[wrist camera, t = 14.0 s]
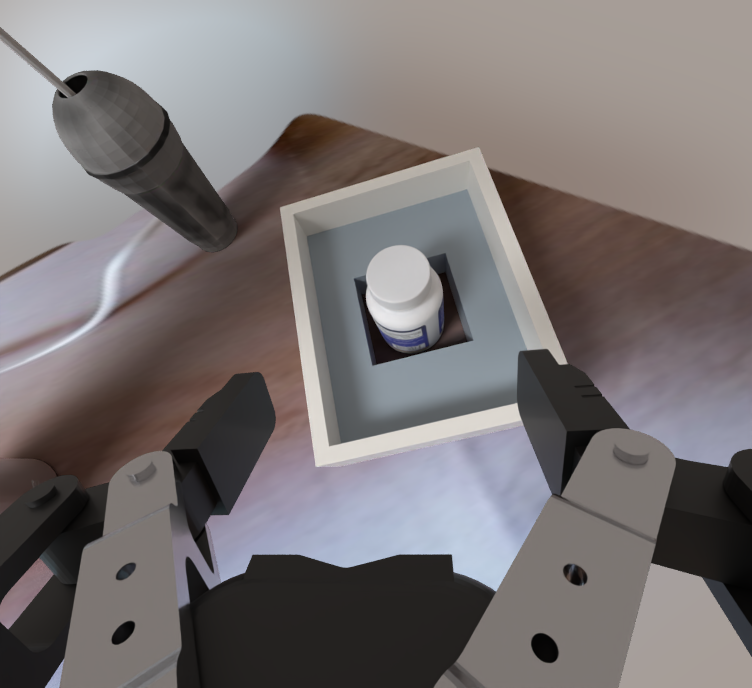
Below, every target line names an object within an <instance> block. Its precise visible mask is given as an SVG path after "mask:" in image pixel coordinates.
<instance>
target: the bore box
mask: <svg viewBox="0 0 752 688" xmlns="http://www.w3.org/2000/svg"><path fill="white" fill-rule="evenodd" d="M280 212H281V219H282V226H283V234H284V241H285V248H286V255H287V262H288V270H289V277H290V284H291V291H292V298H293V306H294V313H295V320H296V327H297V334H298V341H299V349H300V356H301V363H302V370H303V377H304V385H305V392H306V399H307V406H308V413H309V421H310V428H311V435H312V442H313V449H314V457H315V464H316V467H337V466H346V465H350V464H355V463H359V462H364V461H368V460H373V459H377V458H382V457H386V456H391V455H395V454H399V453H404V452H408V451H413V450H417V449H422V448H426V447H431V446H435V445H439V444H444V443H448V442H453V441H457V440H462V439H466V438H471V437H475V436H480V435H484V434H488V433H493V432H497V431H502V430H506V429H511V428H515V427H520V426H524V425H523V422H522V420H521V417H520V414H519V410H518V404H517V371H518V354H519V352H520V351H525V350H537V349H548V350H549V351H550V352H551V354H552V355H553V357H554V358H555V360H556V361H557V362H558V364H559V365H563V364H568V363H567V361H566V358H565V356H564V354H563V351H562V349H561V346H560V344H559V341H558V339H557V336H556V334H555V332H554V329H553V327H552V324H551V322H550V319H549V317H548V314H547V312H546V310H545V307H544V305H543V302H542V300H541V297H540V295H539V292H538V290H537V288H536V285H535V283H534V280H533V278H532V275H531V273H530V270H529V268H528V266H527V263H526V261H525V258H524V256H523V253H522V251H521V248H520V246H519V244H518V241H517V239H516V236H515V234H514V231H513V229H512V226H511V224H510V222H509V219H508V217H507V214H506V212H505V209H504V207H503V204H502V202H501V200H500V197H499V195H498V192H497V190H496V187H495V185H494V182H493V180H492V178H491V175H490V173H489V170H488V168H487V165H486V163H485V160H484V158H483V155H482V153H481V151H480V148H479V147H477V148H474V149H470V150H467V151H464V152H460V153H457V154H454V155H450V156H447V157H444V158H441V159H437V160H434V161H431V162H427V163H424V164H421V165H418V166H414V167H411V168H408V169H404V170H401V171H398V172H395V173H391V174H388V175H385V176H381V177H378V178H375V179H372V180H368V181H365V182H362V183H358V184H355V185H352V186H349V187H345V188H342V189H339V190H335V191H332V192H329V193H326V194H322V195H319V196H316V197H312V198H309V199H306V200H303V201H299V202H296V203H293V204H289V205H286V206H283V207H280ZM395 245H407V246H411V247H413V248H416V249H418V250H419V251H420V252H422V253H423V254H424V255H425V257H426V258H427V260H428V262H429V264H430V267H431V268H432V269H433V270H434V271H435V272H436V273H437V274H440V273H443V272H446V276H447V279H448V282H449V285H450V288H451V291H452V295H453V298H454V301H455V304H456V307H457V311H458V314H459V317H460V320H461V323H462V326H463V330H464V333H465V336H466V339H467V342H465V343H462V344H458V345H454V346H450V347H446V348H442V349H438V350H434V351H430V352H426V353H422V354H418V355H414V356H410V357H406V358H402V359H398V360H394V361H390V362H386V363H382V364H378V365H377V363H376V359H375V354H374V349H373V345H372V340H371V335H370V331H369V326H368V322H367V317H366V312H365V308H364V303H363V298H362V295H363V294H366V290H367V286H368V285H367V281H366V273H367V268H368V266H369V263H370V262H371V260H372V259H373V257H374V256H375V255H376V254H378V253H379V252H380V251H382V250H384V249H386V248H388V247H391V246H395Z"/></svg>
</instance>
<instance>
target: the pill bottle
mask: <svg viewBox="0 0 752 688" xmlns="http://www.w3.org/2000/svg"><path fill="white" fill-rule="evenodd" d="M366 281H367V285H368V286H367V290H366V302H367V306H368V309H369V311H370V314H371V316H372V317H373V319H374V321H375V323H376V325H377V327H378V329H379V330H380V332H381V334H382V336H383V338H384V339H385V341H386V342H387V343H388V344H389V345H390V346H391V347H392V348H393V349H395V350H397V351H399V352H403V353H409V354H414V353H420V352H423V351H425V350H427V349H429V348H430V347H432V346H433V345H434V344H435V343H436V342H437V341H438V340H439V338H440V336H441V334H442V332H443V328H444V303H443V289H442V284H441V281H440V278H439V276H438V275H437V273H436V272H435V271H434V270H433V269H432V268H431V267H430V264H429V262H428V260H427V258H426V257H425V255H424V254H423V253H422V252H420V251H419V250H418V249H416V248H413V247H411V246H407V245H395V246H391V247H388V248H386V249H384V250H382V251H380V252H379V253H378V254H376V255H375V256H374V257H373V259H372V260H371V262H370V263H369V266H368V268H367V273H366Z"/></svg>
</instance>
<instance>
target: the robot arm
mask: <svg viewBox="0 0 752 688" xmlns="http://www.w3.org/2000/svg"><path fill="white" fill-rule="evenodd" d="M517 404H518V410H519V414H520V417H521V420H522V422H523V425H524V427H525V429H526V432H527V434H528V437H529V439H530V442H531V444H532V446H533V449H534V451H535V454H536V456H537V459H538V461H539V463H540V466H541V468H542V471H543V473H544V476H545V478H546V481H547V483H548V485H549V488H550V490H551V493H552V495H551V497H550V498H549V499H548V501H547V503H546V504H545V506H544V508H543V510H542V511H541V513H540V515H539V517H538V519H537V520H536V522H535V524H534V526H533V527H532V529H531V531H530V533H529V535H528V536H527V538H526V540H525V542H524V544H523V545H522V547H521V549H520V551H519V552H518V554H517V556H516V558H515V560H514V561H513V563H512V565H511V567H510V568H509V570H508V572H507V574H506V576H505V577H504V579H503V581H502V583H501V584H500V586H499V588H498V590H497V592H496V591H494V590H493V589H491V588H490V587H488V586H486V585H484V584H482V583H481V582H479V581H477V580H474V579H472V578H469V577H467V576H464V575H461V574H458V573H454V572H453V563H452V555H396V556H392V557H388V558H385V559H381V560H377V561H373V562H369V563H365V564H361V565H357V566H354V567H349V568H343V567H338V566H335V565H332V564H328V563H325V562H322V561H318V560H315V559H311V558H308V557H305V556H301V555H252V558H251V560H250V563H249V565H248V567H247V570H246V572H245V573H243V574H240V575H238V576H235V577H232V578H230V579H228V580H226V581H224V582H222V583H221V579H220V575H219V570H218V565H217V561H216V556H215V551H214V546H213V542H212V537H211V532H210V529H209V527H208V525H207V523H206V522H207V521H208V519H209V517H210V515H229V514H230V512H231V510H232V508H233V506H234V504H235V502H236V501H237V499H238V497H239V495H240V493H241V491H242V489H243V487H244V485H245V483H246V482H247V480H248V478H249V476H250V474H251V472H252V470H253V468H254V466H255V464H256V463H257V461H258V459H259V457H260V455H261V453H262V451H263V449H264V447H265V445H266V444H267V442H268V440H269V438H270V436H271V434H272V432H273V430H274V427H275V421H276V416H275V411H274V407H273V404H272V401H271V398H270V395H269V392H268V389H267V386H266V383H265V380H264V378H263V376H262V374H261V373H259V372H253V373H241V374H235V375H234V376H233V377H232V378H231V379H230V380H229V381H228V383H227V384H226V385H225V386H224V387H223V388H222V390H220V391H219V392H217V393H216V394H214V395H213V396H211V397H210V398H209V399H207V400H206V401H205V402H204V404H203V405H202V406H201V407H200V408H199V409H198V410H197V411H198V412H197V413H195V414H194V415H193V416H192V417H191V418H190V422H187V423H186V424H185V425H184V426H183V428H182V429H181V430H180V431H179V432H178V433H177V434H176V436H175V437H174V438H173V439H172V440H171V441H170V442H169V444H168V445H167V446H166V447H165V448H164V449H163V450H162V451H155V452H150V453H147V454H144V455H142V456H139V457H137V458H135V459H134V460H132V461H130V462H129V463H127V464H126V465H124V466H123V467H122V468H121V469H119V470H118V471H117V472H116V473H115V475H114V476H113V477H112V479H111V480H110V482H109V483H105V484H102V485H98V486H94V487H91V488H87V489H84V487H83V486H82V484H81V483H80V481H79V480H78V478H77V477H76V476H74V475H63V476H59V477H57V476H56V473H55V472H54V471H53V469H52V468H51V467H50V466H49V465H48V464H46V463H45V462H43V461H40V460H37V459H17V458H0V604H1V602H2V600H3V598H4V597H5V595H6V594H7V593H8V591H9V590H10V589H11V588H12V587H13V586H14V585H15V584H16V582H17V581H18V580H19V579H20V578H21V577H22V576H23V575H24V573H25V572H26V571H27V570H28V569H29V568H30V567H31V566H32V565H33V563H34V562H35V561H36V560H37V559H38V558H39V557H40V559H41V560H42V561H43V562H44V563H45V564H46V566H47V567H48V568H49V569H50V570H51V571H52V572H53V574H54V575H53V576H52V577H51V579H50V580H49V581H48V582H47V583H46V585H45V586H44V587H43V588H42V590H41V591H40V592H39V593H38V594H37V596H36V597H35V598H34V599H33V600H32V602H31V603H30V604H29V605H28V607H27V608H26V609H25V610H24V611H23V613H22V614H21V615H20V616H19V618H18V619H17V620H16V621H15V622H14V624H13V625H12V626H11V627H10V628H9V630H8V629H7V628H6V627H5V626H4V625H2V624H1V622H0V688H45V687H46V685H47V683H48V682H49V680H50V679H51V677H52V676H53V674H54V673H55V671H56V670H57V668H58V667H59V665H60V664H61V662H62V661H63V659H64V664H63V670H62V676H61V681H60V687H59V688H618V687H619V683H620V679H621V675H622V671H623V667H624V663H625V660H626V656H627V652H628V648H629V644H630V641H631V637H632V633H633V629H634V625H635V622H636V618H637V614H638V610H639V606H640V602H641V598H642V595H643V591H644V587H645V583H646V579H647V576H648V572H649V568H650V564H651V563H653V564H657V565H660V566H664V567H668V568H671V569H675V570H678V571H682V572H686V573H689V574H693V575H697V576H701V577H702V578H703V579H704V581H705V582H706V584H707V586H708V587H709V589H710V590H711V592H712V594H713V595H714V597H715V598H716V600H717V602H718V603H719V605H720V607H721V608H722V610H723V611H724V613H725V615H726V616H727V618H728V620H729V621H730V622H731V624H732V626H733V628H734V629H735V630H736V632H737V634H738V635H739V637H740V639H741V640H742V642H743V644H744V645H745V647H746V648H747V650H748V652H749V653H750V655H751V656H752V449H746V450H742V451H739V452H737V453H736V454H734V455H733V457H732V458H731V461H730V464H729V467H723V466H717V465H711V464H705V463H699V462H693V461H688V460H683V459H678V458H675V457H674V455H673V453H672V452H671V451H670V450H669V448H668V447H666V446H665V445H664V444H663V443H661V442H660V441H659V440H657V439H655V438H653V437H651V436H649V435H647V434H644V433H641V432H638V431H634V430H630V429H629V427H628V426H627V425H626V424H625V422H624V421H623V420H622V419H621V417H620V416H619V415H618V414H617V412H616V411H615V410H614V409H613V407H612V406H611V405H610V404H609V402H608V401H607V400H606V399H605V397H602V394H601V392H600V391H599V390H598V389H597V387H594V384H593V382H592V381H591V380H590V379H589V377H588V376H587V375H586V374H585V373H584V372H582V371H580V370H579V369H577V368H575V367H574V366H572V365H570V364H563V365H559V364H558V362H557V361H556V360H555V358H554V357H553V355H552V354H551V352H550V351H549V350H548V349H537V350H525V351H520V352H519V354H518V371H517Z"/></svg>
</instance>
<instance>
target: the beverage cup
mask: <svg viewBox="0 0 752 688" xmlns="http://www.w3.org/2000/svg"><path fill="white" fill-rule="evenodd" d="M0 40H1V41H2V42H3V43H4V44H6V45H7V46H8V47H9V48H10V49H11V50H13V51H14V52H15V53H16V54H17V55H18V56H20V57H21V58H22V59H23V60H25V61H26V62H27V63H28V64H29V65H30V66H31V67H33V68H34V69H35V70H36V71H37V72H38V73H40V74H41V75H42V76H43V77H44V78H46V79H47V80H48V81H49V82H50V83H51V84H52V85H54V86H55V87H56V88H57V90H56V92H55V96H54V100H53V104H52V108H53V118H54V123H55V126H56V130H57V132H58V135H59V137H60V139H61V140H62V142H63V143H64V145H65V147H66V148H67V149H68V151H69V152H70V153H71V154H72V156H73V157H74V158H75V159H76V160H77V162H78V163H80V164H81V165H82V167H83V168H84V169H85V171H86V172H87V173H88V174H89V175H91V176H93V177H95V178H97V179H99V180H100V181H102V182H103V183H105V184H107V185H109V186H110V187H112V188H114V189H115V190H118V191H120V192H122V193H124V194H125V195H126V196H128V197H129V198H131V199H132V200H133V201H135V202H136V203H138V204H139V205H140V206H142V207H143V208H144V209H146V210H147V211H148V212H150V213H151V214H153V215H154V216H155V217H157V218H158V219H160V220H161V221H162V222H164V223H165V224H166V225H168V226H169V227H171V228H172V229H173V230H175V231H176V232H178V233H179V234H180V235H182V236H183V237H184V238H186V239H187V240H189V241H190V242H192V243H194V244H195V245H197V246H199V247H200V248H201V249H202V250H205V251H207V252H216V251H220V250H222V249H224V248H226V247H227V246H228V245H229V244H231V242H232V241H233V240H234V238H235V236H236V233H237V224H236V221H235V220H234V219H233V217H232V215H231V214H230V212H229V210H228V208H227V207H226V205H225V204H224V202H223V201H222V199H221V198H220V197H219V195H218V194H217V192H216V191H215V189H214V188H213V187H212V185H211V184H210V182H209V181H208V179H207V178H206V177H205V175H204V173H203V172H202V171H201V169H200V168H199V166H198V165H197V163H196V162H195V160H194V159H193V158H192V156H191V155H190V153H189V152H188V150H187V149H186V147H185V146H184V145H183V143H182V141H181V138H180V136H179V134H178V132H177V131H176V129H175V127H174V125H173V123H172V122H171V121H170V119H169V116H168V113H167V111H166V110H165V109H164V108H162V107H161V106H160V105H159V104H158V103H157V102H156V101H154V100H153V99H152V98H151V97H150V96H149V95H148V94H147V93H146V92H145V91H144V90H142V89H141V88H140V87H139V86H137V85H136V84H134V83H133V82H131V81H129V80H127V79H125V78H123V77H120V76H117V75H114V74H111V73H108V72H103V71H98V70H97V71H82V72H78V73H75V74H73V75H71V76H69V77H68V78H66V79H65V80H64V81H63V82H62V81H61V80H60V79H59V78H58V77H56V76H55V75H54V74H53V73H52V72H51V71H50V70H48V69H47V68H46V67H45V66H44V65H43V64H42V63H41V62H39V61H38V60H37V59H36V58H35V57H34V56H33V55H31V54H30V53H29V52H28V51H27V50H26V49H25V48H23V47H22V46H21V45H20V44H19V43H18V42H17V41H16V40H14V39H13V38H12V37H11V36H10V35H9V34H8V33H6V32H5V31H4V30H3V29H2V28H1V27H0Z"/></svg>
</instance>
